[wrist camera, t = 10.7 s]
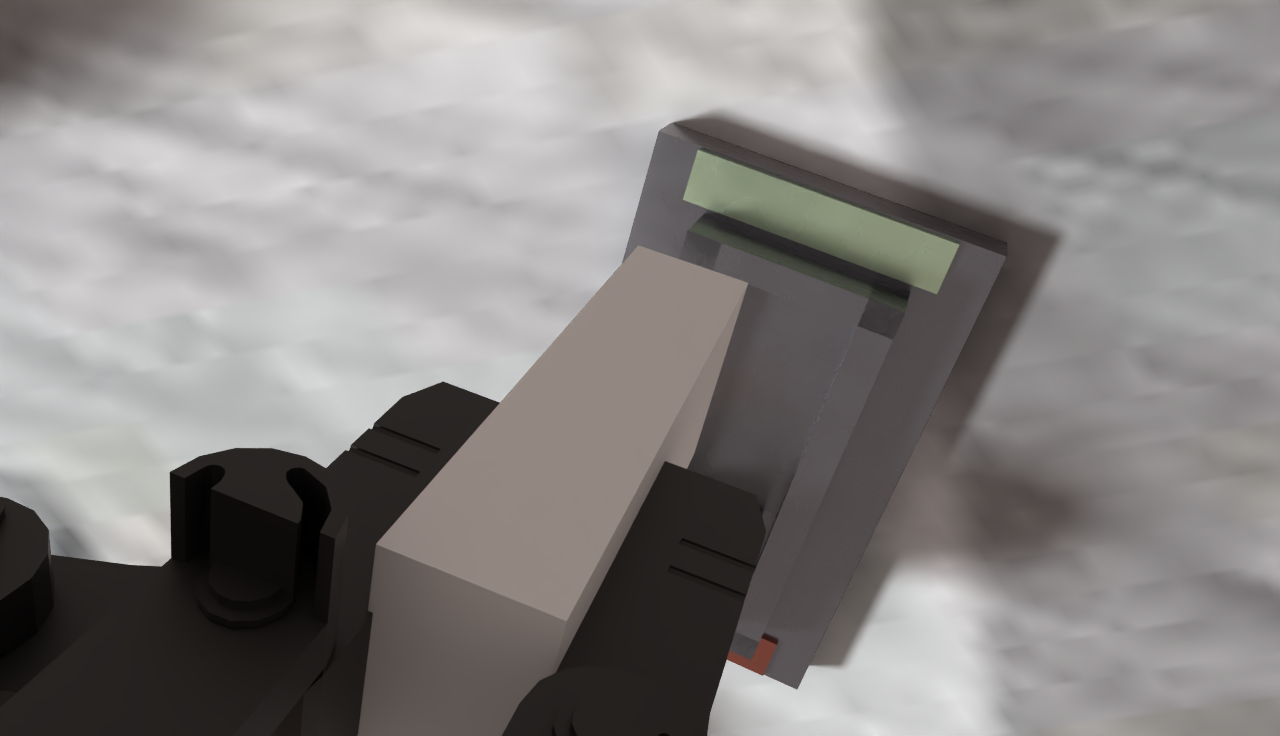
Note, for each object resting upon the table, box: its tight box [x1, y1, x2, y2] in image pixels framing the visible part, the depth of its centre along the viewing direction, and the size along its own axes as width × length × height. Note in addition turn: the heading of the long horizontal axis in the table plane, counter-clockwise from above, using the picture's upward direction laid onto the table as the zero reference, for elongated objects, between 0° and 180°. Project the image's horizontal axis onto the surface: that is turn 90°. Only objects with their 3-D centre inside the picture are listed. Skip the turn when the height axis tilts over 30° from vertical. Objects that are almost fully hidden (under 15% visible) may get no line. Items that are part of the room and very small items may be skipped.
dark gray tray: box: [622, 123, 1007, 689], centre depth 37 cm, size 20×12×4 cm, turn 164°
